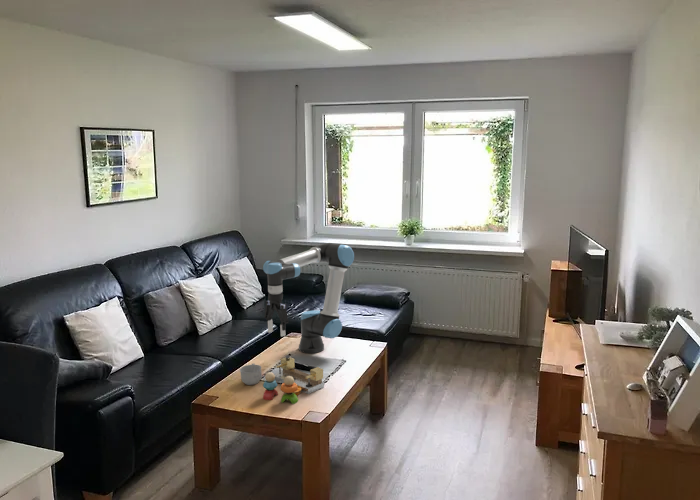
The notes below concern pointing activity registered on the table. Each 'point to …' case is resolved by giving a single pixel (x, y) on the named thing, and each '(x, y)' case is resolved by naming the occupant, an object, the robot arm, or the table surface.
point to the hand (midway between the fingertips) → (276, 333)
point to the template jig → (303, 379)
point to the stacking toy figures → (287, 387)
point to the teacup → (251, 374)
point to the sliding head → (286, 363)
